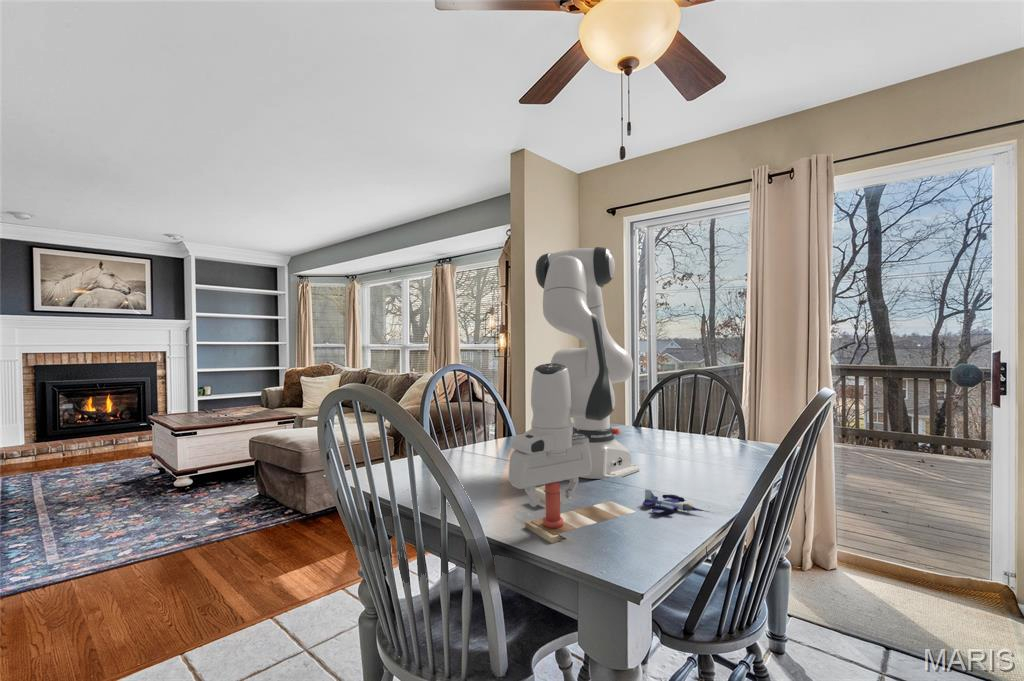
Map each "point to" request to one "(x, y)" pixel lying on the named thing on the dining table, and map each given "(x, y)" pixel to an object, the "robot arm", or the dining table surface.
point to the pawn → (552, 506)
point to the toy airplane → (667, 503)
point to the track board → (578, 520)
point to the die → (542, 495)
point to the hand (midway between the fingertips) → (552, 501)
